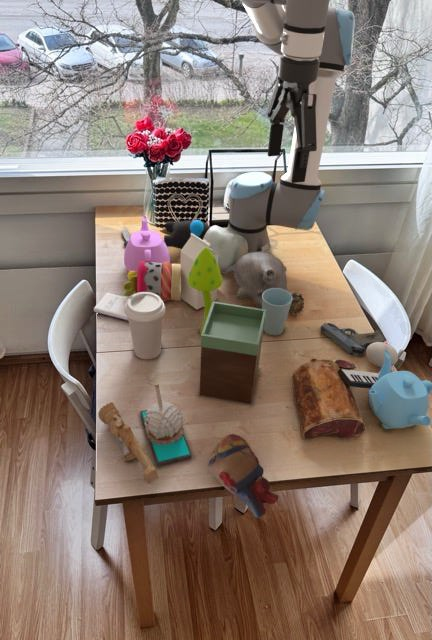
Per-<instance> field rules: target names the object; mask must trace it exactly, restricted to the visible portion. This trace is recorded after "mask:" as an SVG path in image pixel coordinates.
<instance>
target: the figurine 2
mask: <svg viewBox="0 0 432 640" xmlns="http://www.w3.org/2000/svg"><path fill="white" fill-rule="evenodd" d="M384 350H387V351H388V352H389V354H390V356H391V367H393V366H395V365H396V364H397V363H398V360H399V354H398V351H397V349H396V348H394V347H393V346H392V345H390V344H389V343H388V340H386V341H384V342H375V343H372V344H370V345H369V346H368V347H367V349H366V350H365V356H366V358H367V360H368V361H369V362H370V363H371V364H372V365H373V366H376V367H379V368H382V366H383V364H384V360H385V356H384Z"/></svg>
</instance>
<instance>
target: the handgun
mask: <svg viewBox="0 0 432 640" xmlns="http://www.w3.org/2000/svg"><path fill="white" fill-rule="evenodd" d="M320 332H322V333H323V334H324V335H325V336H326V337H327V338H329V339H331V340H332V341H333V342H334V343H335V344H337V345H338V346H339V347H341V348H342V349H343V350H345V351H346V352H347V353H348V354H349V355H351V356H353V355H354V356H364V354H365V352H366V349H367V347H368V346H369V345H370V344H372V343H375V342H384V341H388V340H387V338H386V336H385V335H384V333H383V332H382V331H381V330H380V329H376V330H374V332H365V333H359V332H357V331H356V330H355V329H354V328H352V327H345V328H339V327H338V326H337V325H336V324H334V323H331V322H324V323H323V324H322V325H321V326H320ZM347 332H349V333H350V334H348V333H347Z"/></svg>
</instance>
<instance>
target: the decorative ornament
mask: <svg viewBox="0 0 432 640" xmlns="http://www.w3.org/2000/svg"><path fill="white" fill-rule="evenodd" d="M154 390H155V394H156V399H157V403H153V404H152V405H151V406H149V407H148V409H146V410H147V412H146V415H145V420H146V421H145V422H144V423H143V425H144V424H145V426H144V429H145V428H146V429H145V433H146V436H147V439H149V438H150V439H151V440H150V441H151V442H153V443H155V444H157V445H160V444H162V445H165V446H166V444H168V445H169V444H170V443H171V444H173V443H174V442H175V440H176V441H178V440H179V439H180V438H181V436H182V435H183V434H184V429H185V427H184V425H183V423H184V422H183V421H184V420H183V416H182V412H181V410H180V409H179V408H178V406H176V404H173V403H171V402H168V401H162V396H161V390H160V384H159V382H156V383H154ZM182 431H183V432H182ZM150 441H149V442H150Z"/></svg>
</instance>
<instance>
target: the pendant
mask: <svg viewBox="0 0 432 640" xmlns="http://www.w3.org/2000/svg"><path fill="white" fill-rule="evenodd" d="M291 295H292V298H293V299H292V303H291V306H290V309H289V312H288V313H290V314H292V316H293V318H297V316H298V314H300V313H301V312H303V311H304V309H305V297H303V294H302V293H297V292H293V293H291Z"/></svg>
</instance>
